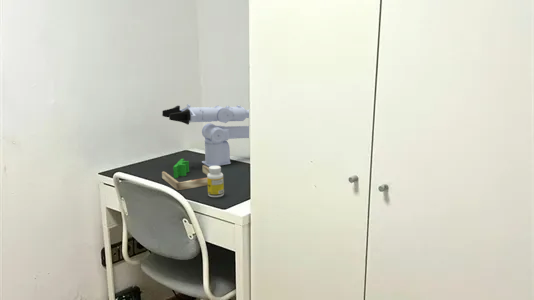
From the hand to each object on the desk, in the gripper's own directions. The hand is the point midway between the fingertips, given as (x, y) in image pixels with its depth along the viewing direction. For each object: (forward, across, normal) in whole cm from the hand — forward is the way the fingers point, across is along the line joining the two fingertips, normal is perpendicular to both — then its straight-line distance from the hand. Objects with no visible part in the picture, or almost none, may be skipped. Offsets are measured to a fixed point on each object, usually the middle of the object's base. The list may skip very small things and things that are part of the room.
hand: (166, 115), depth 216 cm
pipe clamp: (-5, +6, +22) cm, 23 cm away
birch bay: (-5, +15, +21) cm, 27 cm away
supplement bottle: (-6, +35, +22) cm, 41 cm away
